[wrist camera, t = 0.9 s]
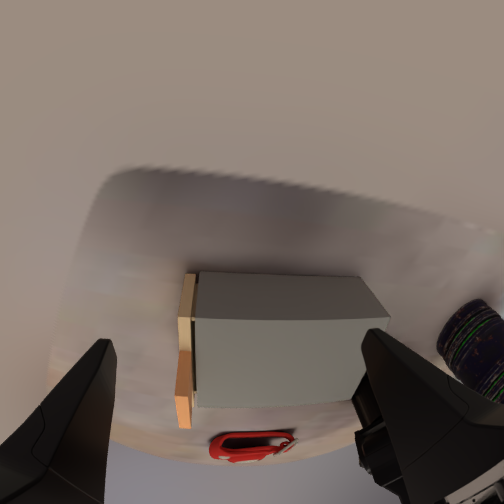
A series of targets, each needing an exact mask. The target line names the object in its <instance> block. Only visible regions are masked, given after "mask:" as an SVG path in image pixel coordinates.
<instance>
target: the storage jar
mask: <svg viewBox="0 0 504 504" xmlns="http://www.w3.org/2000/svg"><path fill="white" fill-rule="evenodd" d="M437 351H438V353H439V354H440V355H441V356H442V357H443V359H444V361H445V362H446V365H447V366H448V368H449V369H450V370H451V371H452V372H453V373H454V375H455V376H456V378H457V379H459V380H461V382H462V383H463V384H464V385H465V386H466V387H468V388H470V389H472V390H473V391H475V392H477V393H479V394H480V395H482V396H484V397H486V398H488V399H489V400H491V401H493V402H496V403H499V404H504V320H503V319H502V318H501V317H500V315H499V314H498V313H497V312H496V311H494V310H492V308H490V307H489V306H488V305H487V304H486V303H485V302H484V301H483V300H481V299H476V300H473V301H470V302H469V303H467V304H465V305H464V306H463V307H461V308H460V309H459V310H458V311H457V312H456V313H455V314H454V315H453V316H452V317H451V318H450V320H449V321H448V322H447V324H446V325H445V326H444V328H443V330H442V332H441V333H440V336H439V338H438V341H437Z"/></svg>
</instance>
